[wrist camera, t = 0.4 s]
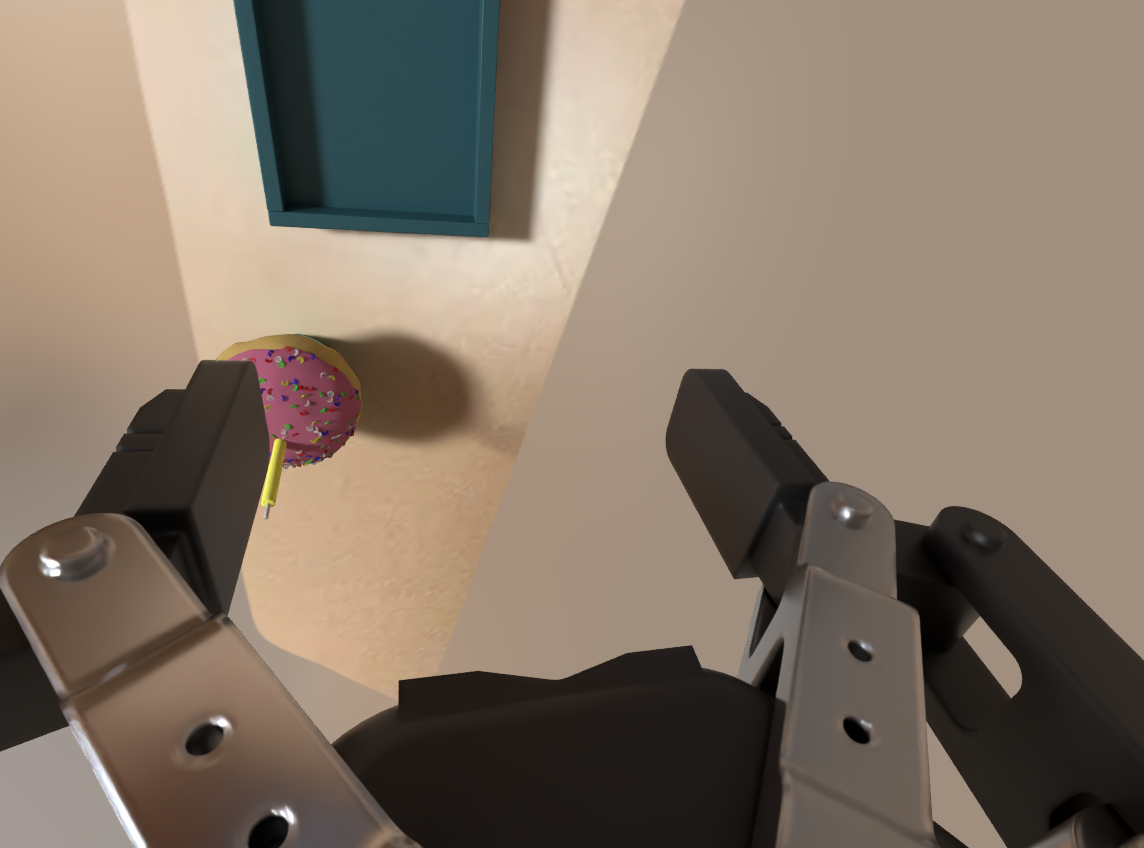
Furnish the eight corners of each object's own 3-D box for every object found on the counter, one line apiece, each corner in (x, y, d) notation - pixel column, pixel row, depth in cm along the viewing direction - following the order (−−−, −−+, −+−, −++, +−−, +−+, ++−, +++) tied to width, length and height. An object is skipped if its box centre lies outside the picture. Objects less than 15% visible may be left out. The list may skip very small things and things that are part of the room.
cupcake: (366, 419, 42) (356, 544, 33) (233, 418, 40) (179, 552, 30) (363, 308, 37) (349, 417, 28) (211, 299, 35) (140, 415, 26)
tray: (211, -208, 24) (196, -222, 22) (500, -145, 27) (507, -153, 25) (276, 214, 33) (269, 226, 31) (484, 226, 36) (488, 237, 34)
